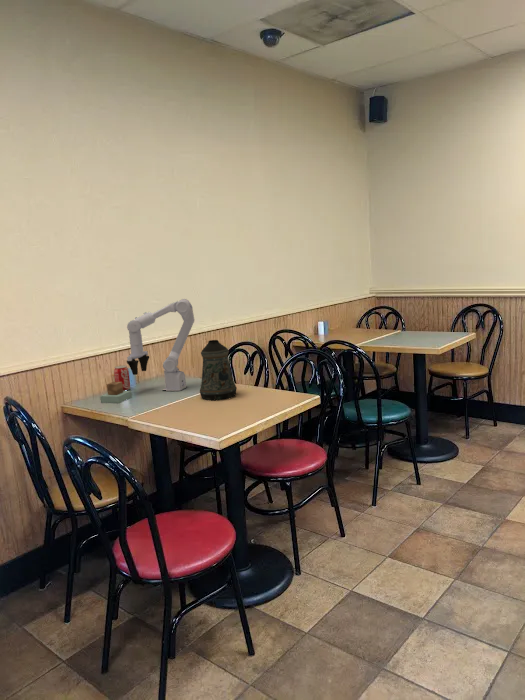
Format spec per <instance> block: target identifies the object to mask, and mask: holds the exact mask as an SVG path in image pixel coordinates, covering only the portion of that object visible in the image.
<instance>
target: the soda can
mask: <svg viewBox="0 0 525 700" xmlns="http://www.w3.org/2000/svg"><path fill="white" fill-rule="evenodd" d="M113 375H114V376H113V377H114V382H122V385H123V391H125V390H128V391H130V389H131V380H130V372H129V369H128V367H127V365H126V364H125V365H117V366H114V369H113Z"/></svg>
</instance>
